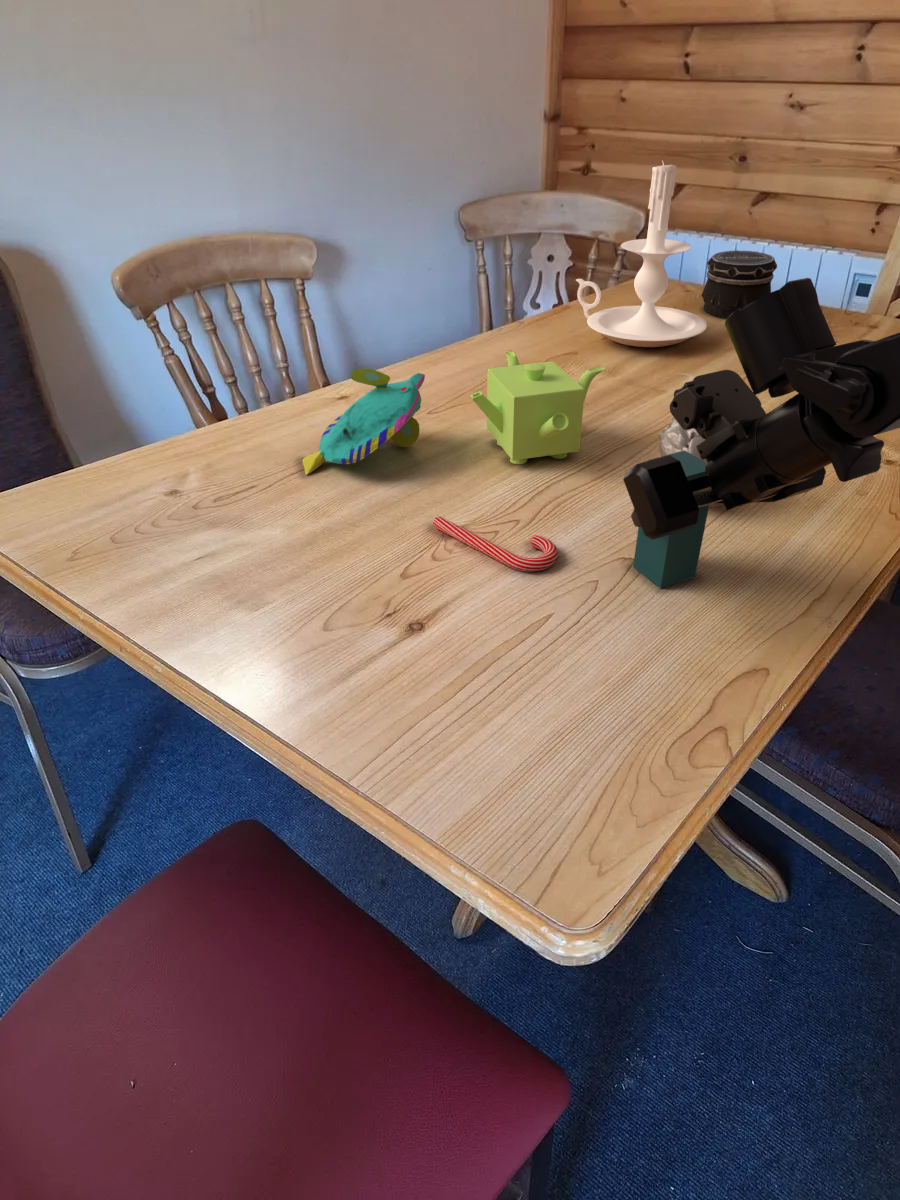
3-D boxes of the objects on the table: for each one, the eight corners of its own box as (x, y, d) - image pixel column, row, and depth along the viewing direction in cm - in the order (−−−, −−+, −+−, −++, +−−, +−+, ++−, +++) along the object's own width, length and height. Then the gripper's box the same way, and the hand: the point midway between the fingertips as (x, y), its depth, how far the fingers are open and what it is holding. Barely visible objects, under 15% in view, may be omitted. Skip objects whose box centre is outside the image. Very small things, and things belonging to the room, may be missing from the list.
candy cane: (467, 510, 90) (467, 498, 89) (569, 557, 81) (570, 545, 80) (429, 529, 87) (429, 517, 86) (531, 581, 78) (531, 568, 77)
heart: (644, 515, 87) (680, 417, 80) (639, 476, 95) (671, 383, 87) (732, 533, 87) (776, 436, 80) (720, 493, 95) (759, 401, 87)
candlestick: (600, 313, 152) (614, 149, 136) (722, 334, 140) (754, 156, 123) (544, 341, 139) (552, 163, 123) (673, 367, 127) (702, 173, 110)
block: (695, 576, 78) (716, 468, 71) (660, 588, 76) (678, 478, 69) (666, 556, 81) (684, 450, 74) (632, 567, 80) (647, 460, 72)
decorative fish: (393, 325, 101) (422, 360, 89) (438, 402, 108) (470, 443, 96) (269, 408, 102) (280, 453, 90) (322, 478, 110) (339, 528, 98)
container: (721, 323, 145) (732, 267, 139) (687, 305, 155) (695, 252, 149) (781, 317, 148) (794, 261, 142) (743, 299, 158) (753, 247, 152)
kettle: (505, 419, 111) (508, 340, 104) (600, 437, 106) (609, 355, 99) (457, 460, 100) (456, 375, 94) (560, 483, 95) (567, 394, 88)
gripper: (833, 332, 64) (716, 414, 79) (652, 371, 58) (561, 452, 72) (886, 455, 63) (758, 515, 78) (707, 509, 57) (604, 564, 71)
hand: (672, 509), depth 75 cm, fingers open, 9 cm apart
